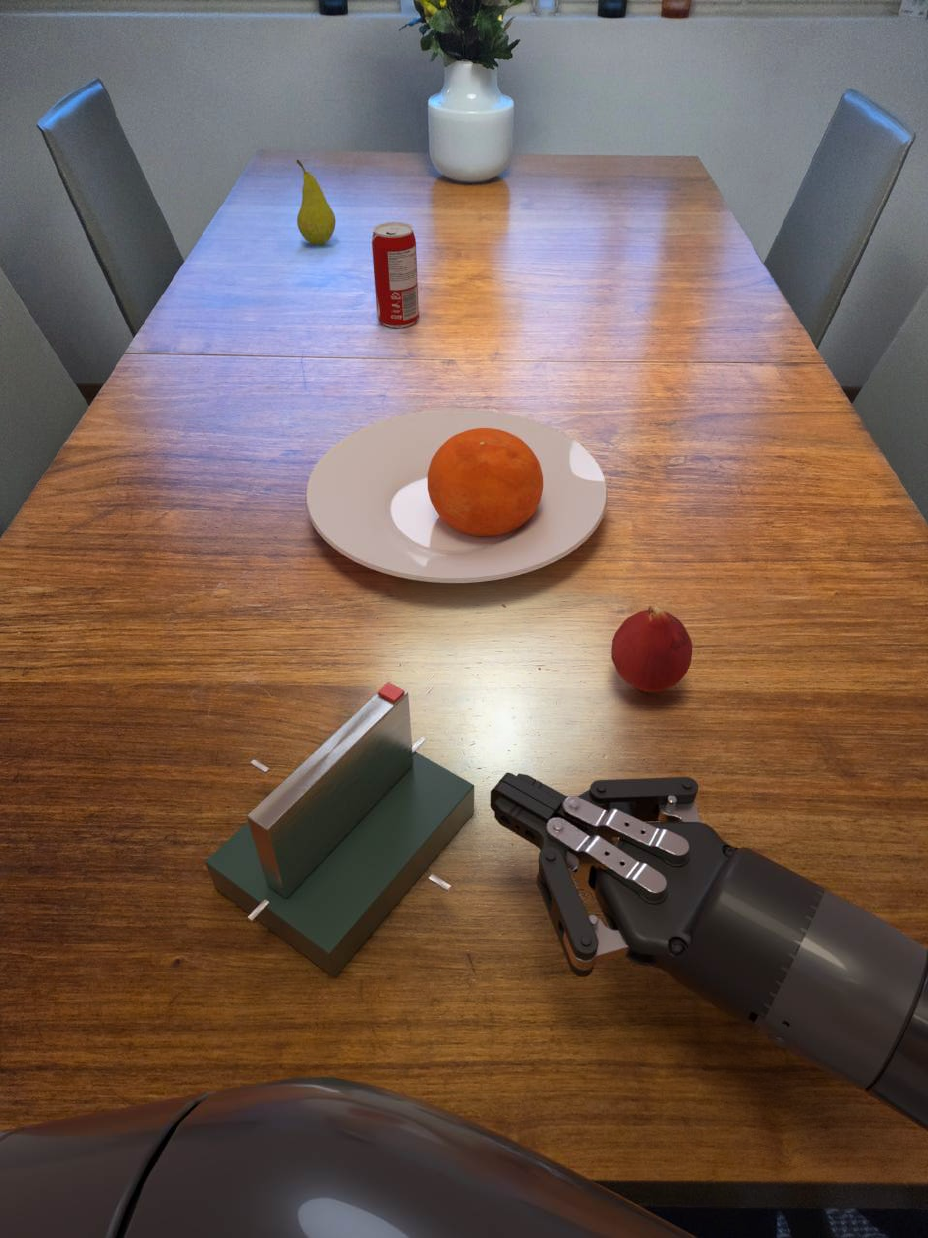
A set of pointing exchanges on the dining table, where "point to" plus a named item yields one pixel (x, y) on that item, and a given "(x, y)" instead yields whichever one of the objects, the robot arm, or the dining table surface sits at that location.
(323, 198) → the fruit
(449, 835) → the base block
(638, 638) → the onion
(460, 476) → the plate
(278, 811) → the upright slab
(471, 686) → the dining table surface
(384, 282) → the soda can
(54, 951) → the dining table surface
